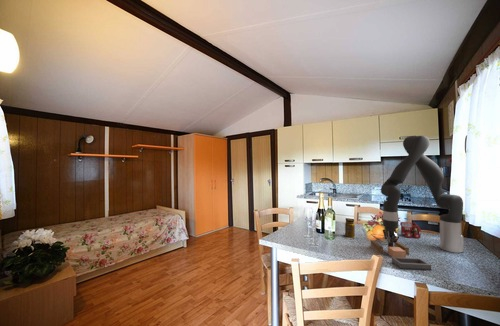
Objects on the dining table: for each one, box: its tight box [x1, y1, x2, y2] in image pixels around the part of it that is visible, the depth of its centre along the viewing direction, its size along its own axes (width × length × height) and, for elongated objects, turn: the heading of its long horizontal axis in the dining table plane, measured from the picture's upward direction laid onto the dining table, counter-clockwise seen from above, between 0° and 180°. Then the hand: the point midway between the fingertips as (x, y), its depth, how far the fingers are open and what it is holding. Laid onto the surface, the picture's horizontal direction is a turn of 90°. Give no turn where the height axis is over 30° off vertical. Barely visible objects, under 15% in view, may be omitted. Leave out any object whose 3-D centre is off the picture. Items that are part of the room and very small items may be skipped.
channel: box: [369, 239, 410, 256], centre depth 121 cm, size 16×10×4 cm, turn 85°
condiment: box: [341, 218, 357, 240], centre depth 145 cm, size 7×8×12 cm
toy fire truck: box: [399, 221, 422, 240], centre depth 145 cm, size 7×12×10 cm, turn 77°
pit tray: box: [391, 256, 432, 271], centre depth 102 cm, size 14×7×2 cm, turn 85°
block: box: [387, 246, 407, 258], centre depth 114 cm, size 6×6×4 cm
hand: (390, 248), depth 119 cm, fingers closed
